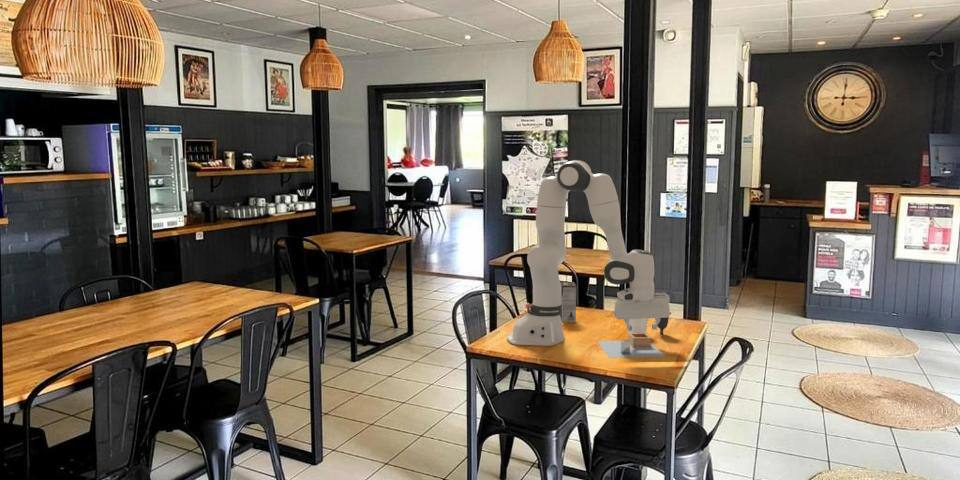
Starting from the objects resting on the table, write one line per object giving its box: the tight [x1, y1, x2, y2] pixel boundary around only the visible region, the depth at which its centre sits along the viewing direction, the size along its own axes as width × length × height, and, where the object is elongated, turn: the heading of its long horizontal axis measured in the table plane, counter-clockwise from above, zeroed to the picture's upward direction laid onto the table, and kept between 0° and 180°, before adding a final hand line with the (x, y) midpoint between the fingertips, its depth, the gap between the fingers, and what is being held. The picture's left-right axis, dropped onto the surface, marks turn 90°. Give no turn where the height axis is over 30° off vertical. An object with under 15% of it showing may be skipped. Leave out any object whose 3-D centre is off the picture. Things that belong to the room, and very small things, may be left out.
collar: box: [627, 332, 652, 347], centre depth 248 cm, size 7×7×4 cm
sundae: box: [657, 312, 672, 336], centre depth 262 cm, size 7×7×15 cm
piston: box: [620, 339, 630, 354], centre depth 237 cm, size 3×3×4 cm
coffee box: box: [560, 281, 577, 323], centre depth 291 cm, size 9×6×16 cm
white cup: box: [627, 318, 648, 334], centre depth 262 cm, size 8×8×10 cm
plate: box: [596, 340, 666, 359], centre depth 243 cm, size 20×20×2 cm
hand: (641, 329), depth 247 cm, fingers open, 8 cm apart
